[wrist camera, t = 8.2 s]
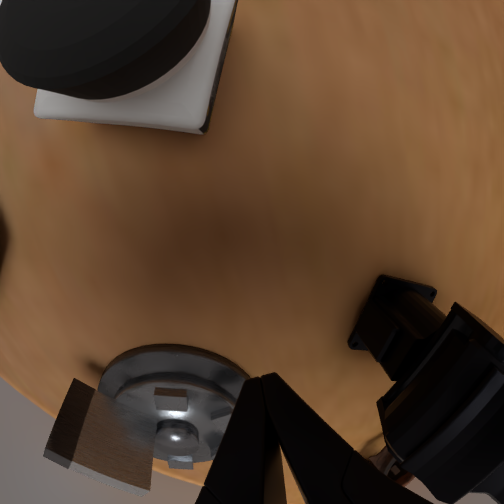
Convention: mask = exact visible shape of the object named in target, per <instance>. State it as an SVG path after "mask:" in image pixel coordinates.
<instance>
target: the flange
mask: <svg viewBox="0 0 504 504" xmlns="http://www.w3.org/2000/svg"><path fill="white" fill-rule="evenodd" d="M151 373H180V374H186V375H192V376H196V377H199V378H203V379H205V380H208V381H211V382H213V383H215V384H217V385H219V386H221V387H222V388H224V389H226V390H227V391H228V392H229V393H231V394H232V395H233V396H234V397H235V398H236V399H238V396H239V393H240V391H241V388H242V385H243V383H244V381H245V380H246V379H250V377H249V376H248V375H247V374H246V373H245V372H244V371H243V370H242V369H241V368H240V367H238V366H237V365H236V364H234V363H233V362H231V361H229V360H228V359H226V358H224V357H222V356H220V355H217V354H215V353H212V352H209V351H207V350H204V349H200V348H195V347H191V346H185V345H176V344H154V345H147V346H142V347H138V348H134V349H131V350H129V351H127V352H124V353H122V354H121V355H119V356H117V357H116V358H115V359H114V360H112V361H111V362H110V363H109V365H108V366H107V367H106V369H105V371H104V373H103V375H102V377H101V380H100V383H99V386H98V391H99V392H101V393H103V394H105V395H106V396H108V397H111V398H113V399H114V396H115V394H116V392H117V390H118V389H119V388H120V387H121V386H122V385H123V384H124V383H126V382H127V381H129V380H131V379H133V378H135V377H138V376H141V375H145V374H151Z"/></svg>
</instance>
